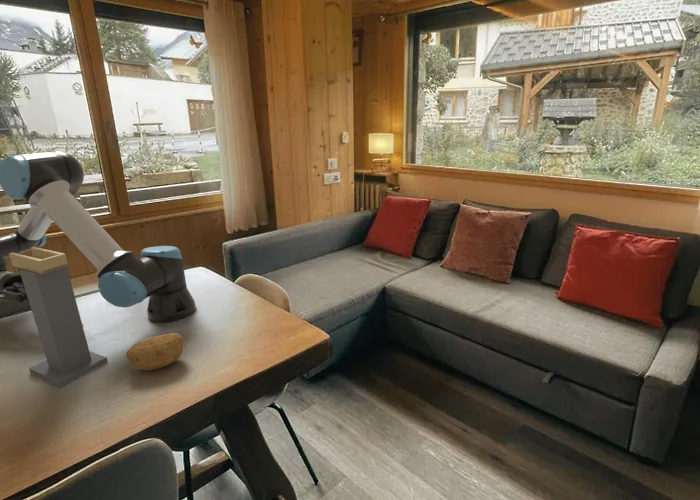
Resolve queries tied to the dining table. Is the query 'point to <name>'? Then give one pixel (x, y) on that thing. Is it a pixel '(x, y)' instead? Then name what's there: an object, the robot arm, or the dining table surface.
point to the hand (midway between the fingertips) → (51, 296)
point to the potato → (156, 351)
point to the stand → (56, 317)
